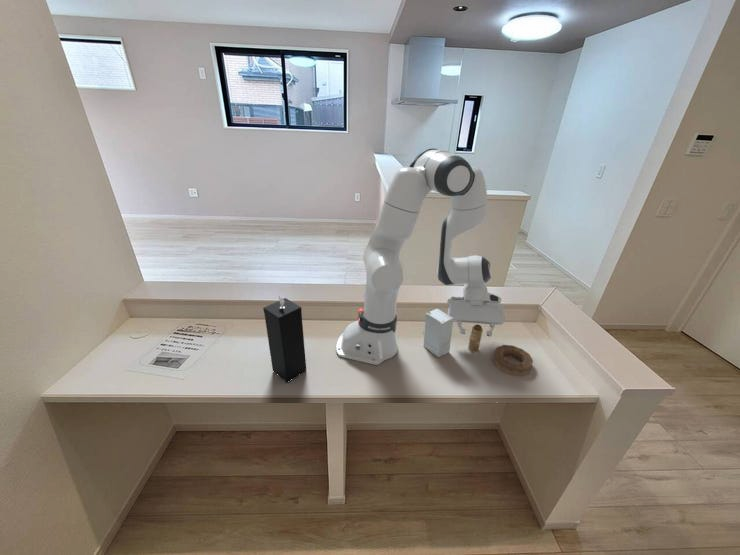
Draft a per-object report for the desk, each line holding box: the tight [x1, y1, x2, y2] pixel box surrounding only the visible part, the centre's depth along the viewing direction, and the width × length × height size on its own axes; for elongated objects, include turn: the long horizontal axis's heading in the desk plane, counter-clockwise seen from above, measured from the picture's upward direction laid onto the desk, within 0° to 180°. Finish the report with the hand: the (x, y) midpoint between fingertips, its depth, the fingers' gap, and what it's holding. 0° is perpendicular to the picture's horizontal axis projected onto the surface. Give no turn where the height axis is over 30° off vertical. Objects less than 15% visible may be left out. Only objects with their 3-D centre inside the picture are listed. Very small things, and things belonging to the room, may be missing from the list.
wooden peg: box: [467, 324, 484, 353], centre depth 113 cm, size 4×4×10 cm
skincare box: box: [423, 308, 454, 358], centre depth 111 cm, size 8×6×15 cm
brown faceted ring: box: [492, 344, 534, 376], centre depth 108 cm, size 12×12×3 cm
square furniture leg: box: [262, 295, 307, 383], centre depth 96 cm, size 8×8×28 cm
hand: (476, 335), depth 113 cm, fingers open, 8 cm apart
